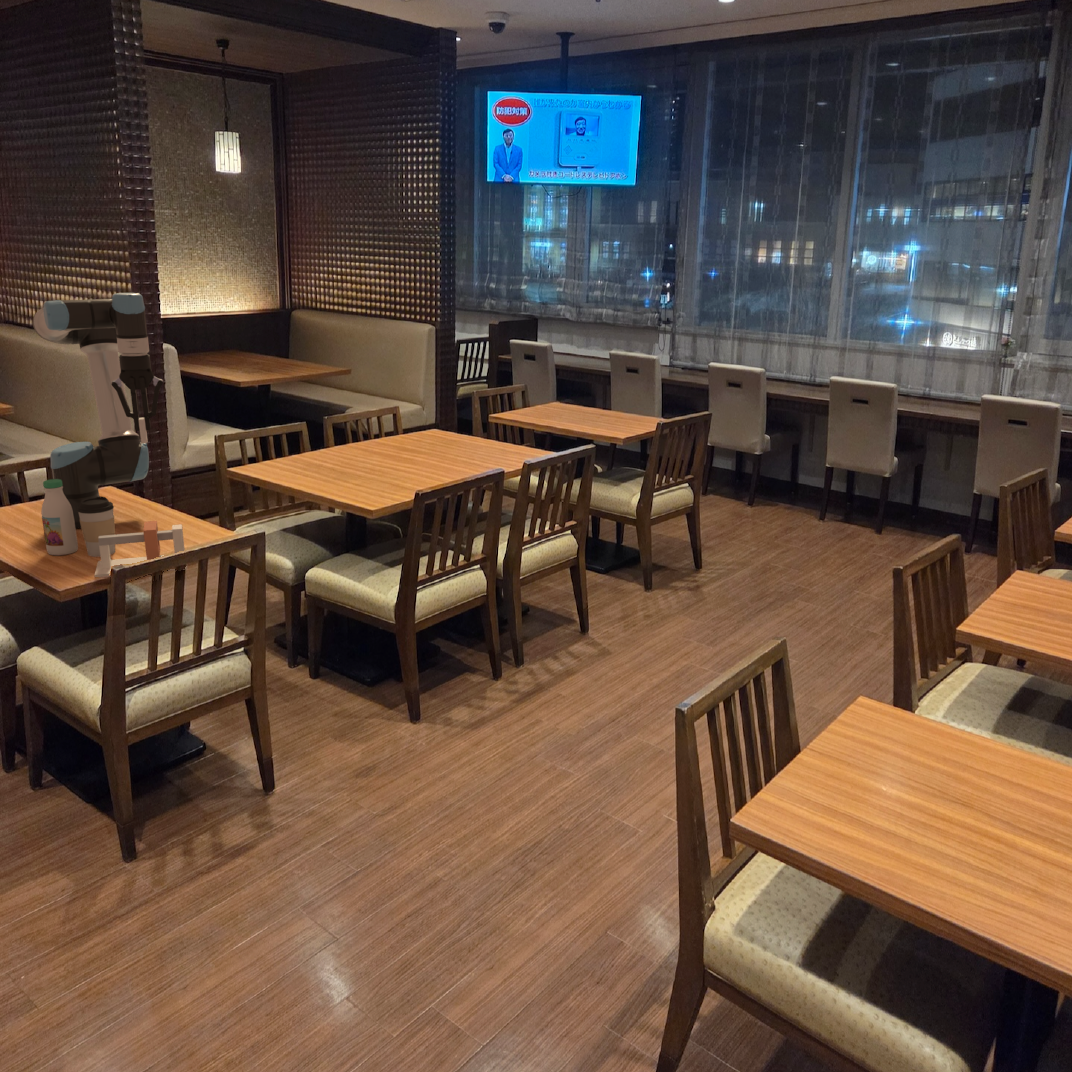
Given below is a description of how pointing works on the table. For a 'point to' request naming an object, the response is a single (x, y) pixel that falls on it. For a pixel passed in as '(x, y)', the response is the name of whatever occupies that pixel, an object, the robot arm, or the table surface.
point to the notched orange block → (151, 540)
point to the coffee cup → (96, 523)
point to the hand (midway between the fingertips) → (144, 442)
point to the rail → (108, 562)
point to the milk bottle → (58, 520)
